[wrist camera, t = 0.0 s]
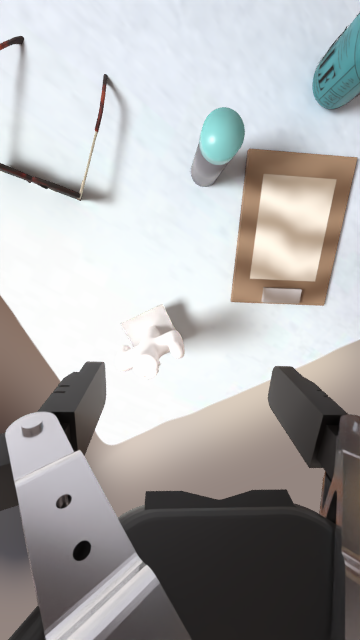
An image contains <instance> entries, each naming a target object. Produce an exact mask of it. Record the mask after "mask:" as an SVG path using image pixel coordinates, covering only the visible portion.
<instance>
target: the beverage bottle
mask: <svg viewBox="0 0 360 640" xmlns="http://www.w3.org/2000/svg"><path fill="white" fill-rule="evenodd" d="M346 28H347V27H346ZM340 36H341V37H340ZM340 36H339V37H340V38H339V37H338V38H339V39H338V38H337V39H338V40H336V41H337V42H336V41H335V42H336V43H335V42H334V43H333V44H332V46H331V48H329V50H327V51H328V52H327V53H326V54H325V56H324V57H323V59H322V60H320V62H319V65H318V67H317V69H316V71H315V74H314V78H313V93H314V96H315V99H316V100H317V102H318V103H319V104H320V105H321V106H323V107H324V108H327V109H335V108H338V107H341V106H343V105H345V104H346V103H348V102H349V101H350V100H351V99H352V100H353V98H354V97H356V95H357V94H359V93H360V13H359V15H358V16H357V17H356V18H355V19H354V21H353V22H352V23H351V24H350V26H349V27H348V28H347V29H345V31H344V32H343V33H342V34H341V35H340ZM359 95H360V94H359ZM357 96H358V95H357Z"/></svg>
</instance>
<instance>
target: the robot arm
mask: <svg viewBox="0 0 360 640" xmlns="http://www.w3.org/2000/svg"><path fill="white" fill-rule="evenodd" d="M105 400H106V378H105V364H104V362H86V363H85V364H84V366H83V367H82V369H81V370H80V372H73V373H71V374H70V375H68V376H67V377H65V378H64V379H63V380H62V381H61V382H60V384H59V385H58V387H57V388H56V389H55V390H54V392H53V393H52V394H51V395H50V397H49V398H48V399H47V400H46V402H45V403H44V404H43V405H42V407H41V408H40V409H39V410H38V412H36V413H32V414H28V415H26V416H23V417H21V418H19V419H18V420H16V421H15V422H13V423H12V424H11V425H10V426H9V428H8V429H7V430H6V433H3V434H0V511H1V510H4V509H7V508H11V507H14V506H17V505H19V510H20V515H21V520H22V525H23V530H24V536H25V541H26V546H27V551H28V556H29V561H30V566H31V571H32V576H33V582H34V587H35V592H36V597H37V602H38V606H37V607H36V608H35V609H34V611H33V612H32V613H31V614H30V615H29V616H28V617H27V619H26V620H25V621H24V622H23V623H22V624H21V626H20V627H19V628H18V629H17V630H16V631H15V632H14V634H13V635H12V636H11V637H10V638H9V639H8V640H360V416H357V415H351V414H347V413H346V412H345V411H344V410H343V409H342V408H341V407H340V406H339V405H338V404H337V403H336V402H334V401H333V400H332V399H331V398H330V397H328V395H327V394H326V393H325V392H323V391H322V390H321V389H320V388H319V387H318V386H317V385H316V384H315V383H313V382H312V381H309V380H308V379H306V378H304V377H302V375H300V374H299V373H298V372H297V371H296V370H295V369H294V368H293V367H290V366H275V367H274V368H273V371H272V376H271V382H270V388H269V393H268V402H269V406H270V408H271V410H272V411H273V413H274V414H275V416H276V417H277V419H278V421H279V422H280V424H281V425H282V427H283V428H284V430H285V431H286V433H287V434H288V436H289V437H290V439H291V440H292V442H293V444H294V445H295V446H296V448H297V450H298V451H299V453H300V454H301V456H302V457H303V459H304V461H305V462H306V463H307V465H308V467H309V468H324V470H325V473H324V477H323V483H322V492H321V502H320V511H319V514H318V513H317V512H315V511H312V510H310V509H308V508H306V507H303V506H300V505H297V504H294V503H293V502H292V500H291V498H290V496H289V494H288V492H287V490H251V491H248V492H245V493H242V494H239V495H235V496H232V497H229V498H226V499H222V500H217V499H212V498H208V497H204V496H200V495H196V494H192V493H188V492H183V491H146V497H145V505H142V506H139V507H137V508H134V509H132V510H130V511H128V512H126V513H125V514H123V515H121V516H120V517H118V518H117V516H116V514H115V512H114V511H113V509H112V507H111V505H110V503H109V502H108V499H107V498H106V496H105V494H104V492H103V490H102V488H101V486H100V485H99V483H98V481H97V479H96V477H95V475H94V474H93V472H92V470H91V468H90V466H89V464H88V462H87V461H86V459H85V457H84V456H85V453H86V450H87V447H88V445H89V443H90V440H91V437H92V435H93V433H94V430H95V428H96V425H97V423H98V420H99V418H100V415H101V413H102V410H103V408H104V405H105Z"/></svg>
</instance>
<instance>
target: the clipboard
mask: <svg viewBox="0 0 360 640" xmlns="http://www.w3.org/2000/svg"><path fill="white" fill-rule="evenodd" d="M356 162H357V158H356V157H344V156H332V155H320V154H308V153H296V152H284V151H272V150H260V149H249V150H248V152H247V161H246V170H245V179H244V187H243V196H242V205H241V214H240V223H239V232H238V240H237V249H236V258H235V267H234V276H233V284H232V293H231V302H245V303H270V304H296V305H322V306H324V302H325V298H326V294H327V289H328V285H329V280H330V276H331V272H332V267H333V263H334V259H335V254H336V250H337V245H338V241H339V237H340V232H341V228H342V223H343V219H344V215H345V210H346V206H347V201H348V197H349V193H350V188H351V184H352V179H353V175H354V171H355V166H356Z"/></svg>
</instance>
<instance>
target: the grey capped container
mask: <svg viewBox="0 0 360 640" xmlns="http://www.w3.org/2000/svg"><path fill="white" fill-rule="evenodd" d="M244 135H245V130H244V124H243V121H242V119H241V117H240V116H239V114H238V113H237V112H235V111H234V110H232V109H230V108H226V107H222V108H218V109H216V110H214V111H212V112H211V113H210V114H209V115H208V116H207V118H206V120H205V122H204V124H203V127H202V131H201V134H200V139H199V144H198V147H197V151H196V154H195V157H194V160H193V164H192V167H191V176H192V179H193V181H194V182H195V183H196V184H197V185H199V186H202V187H207V186H210V185H212V184H213V183H214V182H215V180H216V179H217V178H218V176H219V175H220V173H221V172H222V171H223V169H224V168H225V166H226V165H227V164H228V162H229V161H230V160H231V159H232V158H233V157H234V156H235V154H236V153H237V152H238V150H239V149H240V147H241V145H242V143H243V140H244Z"/></svg>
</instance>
